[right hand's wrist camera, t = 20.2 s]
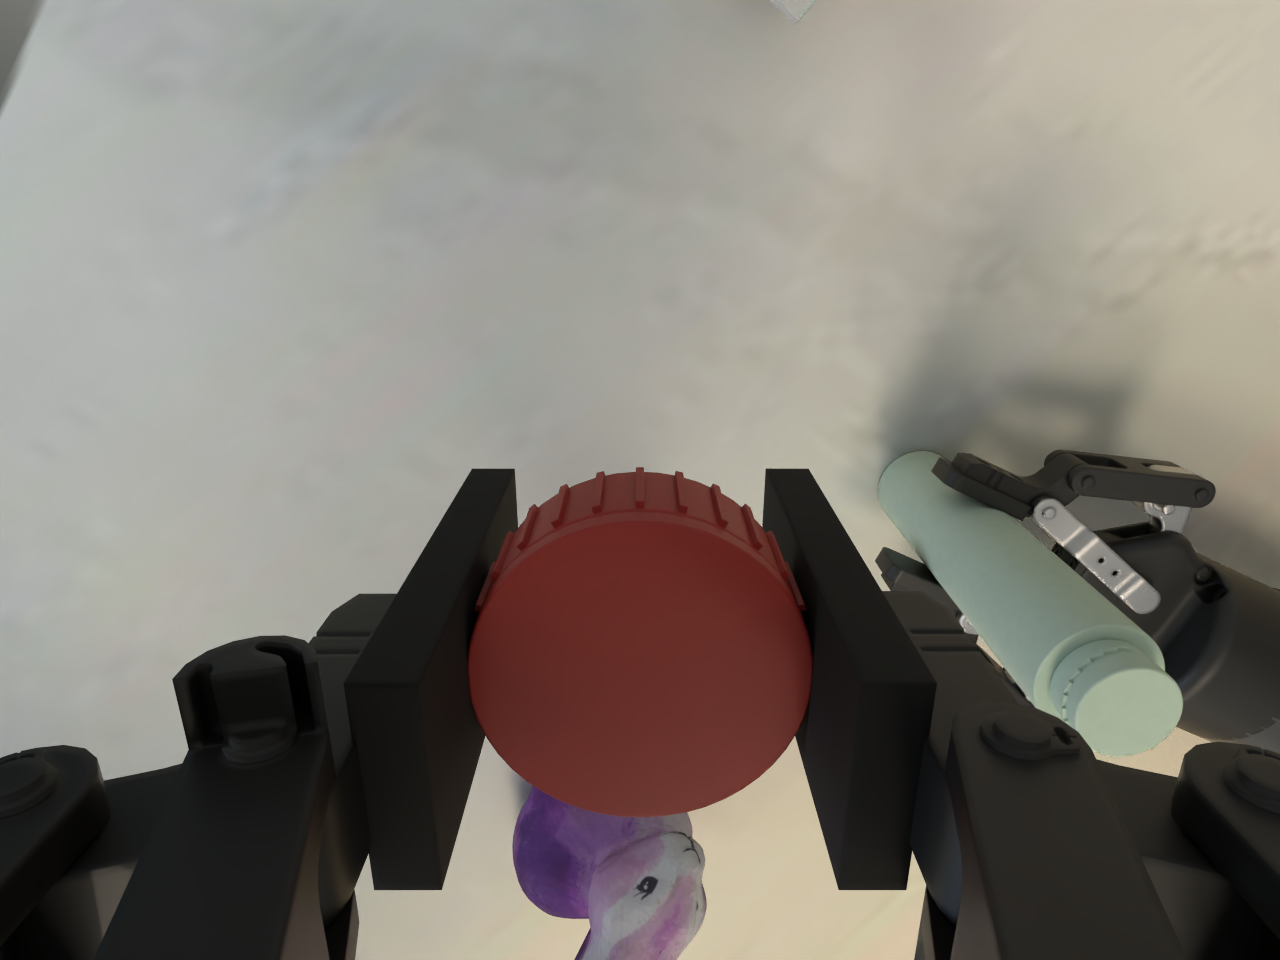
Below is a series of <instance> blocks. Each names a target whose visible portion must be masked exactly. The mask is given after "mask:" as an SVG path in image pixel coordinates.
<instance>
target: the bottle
mask: <svg viewBox="0 0 1280 960" xmlns="http://www.w3.org/2000/svg"><path fill="white" fill-rule="evenodd" d="M939 457H942V456H940V455H938V454H936V453H933V452H928V451H916V452H911V453H908V454H905V455H903V456H901V457H899V458H897V459H896V460H895V461H893V462H892V463H891V464H890V465H889V466H888V467H887V469H886V470H885V471H884V473H883V475H882V477H881V479H880V482H879V486H878V498H879V502H880V505H881V507H882V509H883V510H884V512H885V513H886V514H887V516H888V517H889V518H890V519H891V521H892V522H893V523H894V525H895V526H896V527H897V529H898V530H899V531H900V532H901V534H902V535H903V536H904V538H905V539H906V540H907V542H908V543H909V544H910V545H911V547H912V548H913V549H914V551H915V552H916V553H917V554H918V556H919V557H920V558H921V560H922V561H923V562H924V564H925V565H926V566H927V567H928V569H929V570H930V571H931V573H932V574H933V575H934V577H935V578H936V579H937V580H938V582H939V583H940V584H941V586H942V587H943V588H944V590H945V591H946V592H947V593H948V595H949V596H950V597H951V599H952V600H953V601H954V603H955V604H956V605H957V606H958V608H959V609H960V610H961V612H962V613H963V614H964V616H965V617H966V618H967V619H968V621H969V622H970V623H971V625H972V626H973V627H974V629H975V630H976V631H977V632H978V634H979V635H980V636H981V638H982V639H983V640H984V642H985V643H986V644H987V645H988V647H989V648H990V649H991V651H992V652H993V653H994V654H995V656H996V657H997V658H998V660H999V661H1000V662H1001V664H1002V665H1003V666H1004V667H1005V669H1006V670H1007V671H1008V673H1009V674H1010V675H1011V677H1012V678H1013V679H1014V680H1015V682H1016V683H1017V684H1018V686H1019V687H1020V688H1021V690H1022V691H1023V692H1024V693H1025V695H1026V696H1027V697H1028V699H1029V700H1030V701H1031V703H1032V704H1033V705H1034V706H1035V708H1037V709H1039V710H1042V711H1044V712H1046V713H1049V714H1051V715H1053V716H1056V717H1058V718H1059V719H1061V720H1062V721H1064V722H1065V723H1066V724H1068V725H1069V726H1071V727H1072V728H1073V729H1075V730H1076V731H1078V732H1079V733H1080V735H1081V736H1082V737H1083V739H1084V740H1085V741H1086V742H1087V744H1088V745H1089V746H1090V748H1091V749H1092V751H1095V752H1097V753H1100V754H1103V755H1107V756H1114V757H1123V756H1131V755H1135V754H1139V753H1142V752H1144V751H1147V750H1149V749H1153V748H1155V747H1156V746H1157V745H1158V744H1159V743H1160V742H1162V741H1163V740H1164V739H1165V738H1166V737H1168V736H1169V734H1170V733H1171V732H1172V731H1173V730H1174V728H1175V727H1176V725H1177V723H1178V722H1179V720H1180V717H1181V714H1182V710H1183V697H1182V694H1181V690H1180V688H1179V686H1178V684H1177V683H1176V682H1175V680H1174V679H1173V678H1172V677H1171V676H1169V675H1168V674H1167V673H1166V672H1165V663H1164V658H1163V655H1162V652H1161V650H1160V648H1159V646H1158V645H1157V644H1156V642H1155V641H1154V640H1153V639H1152V638H1151V637H1150V636H1149V635H1148V634H1146V633H1145V632H1144V631H1143V630H1142V629H1141V628H1140V627H1138V626H1137V625H1136V624H1135V623H1134V622H1133V621H1131V620H1130V619H1129V618H1128V617H1127V616H1126V615H1125V614H1123V613H1122V612H1121V611H1120V610H1119V609H1118V608H1117V607H1115V606H1114V605H1113V604H1112V603H1111V602H1110V601H1108V600H1107V599H1106V598H1105V597H1104V596H1103V595H1102V594H1100V593H1099V592H1098V591H1097V590H1096V589H1095V588H1094V587H1092V586H1091V585H1090V584H1089V583H1088V582H1087V581H1085V580H1084V579H1083V578H1082V577H1081V576H1080V575H1079V574H1077V573H1076V572H1075V571H1074V570H1073V569H1072V568H1070V567H1069V566H1068V565H1067V564H1066V563H1065V562H1064V561H1062V560H1061V559H1060V558H1059V557H1058V556H1057V555H1056V554H1054V553H1053V552H1052V551H1051V550H1050V549H1049V548H1047V547H1046V546H1045V545H1044V544H1043V543H1042V542H1041V541H1039V540H1038V539H1037V538H1036V537H1035V536H1034V535H1032V534H1031V533H1030V532H1029V531H1028V530H1027V529H1026V528H1024V527H1023V526H1022V525H1021V524H1020V523H1019V522H1018V521H1016V520H1015V519H1014V518H1013V517H1012V516H1010V515H1008V514H1007V513H1005V512H1002V511H1000V510H997V509H995V508H993V507H991V506H989V505H987V504H984V503H982V502H980V501H978V500H976V499H974V498H971V497H969V496H967V495H965V494H963V493H961V492H958V491H956V490H954V489H952V488H950V487H949V486H947V485H946V484H944V483H943V482H942V481H941V480H940V479H938V478H937V477H936V476H935V475H934V474H933V473H932V472H931V470H932V469H933V467H934V465H935V464H936V462H937V461H938V459H939ZM942 458H943V457H942ZM944 459H945V458H944Z"/></svg>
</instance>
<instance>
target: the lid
mask: <svg viewBox="0 0 1280 960" xmlns="http://www.w3.org/2000/svg"><path fill="white" fill-rule="evenodd" d="M805 610H806V606H805V604H804V601H803V598H802V596H801V593H800V591H799V588H798V586H797V583H796V581H795V578H794V576H793V573H792V571H791V568H790V566H789V563H788V561H784V559H783V556H782V554H781V551H780V549H779V546H778V543H777V541H776V538H775V536H774V534H773V532H772V531H771V530H770V531H768V532H767V533H766V532H765V531H764V529H763V528H762V527H761V526H760V524H759V523H758V522H757V521H756V520H755V519H754V517H753V514H752V511H751V508H750V507H749V506H748V505H747V504H745V505H744V506H743V507H741V506H739V505H738V504H737V503H736V502H734V501H733V500H732V499H730V498H728V497H727V496H725V495H723V494H722V493H721V491H720V487H719V486H717V485H715V484H712V486H711V488H710V487H708V486H706V485H703V484H701V483H699V482H696V481H693V480H689V479H686V478H684V476H683V473H682V472H678V471H676V472H675V476H674V475H668V474H662V473H652V472H644V468H643V467H637V468H636V472H629V473H617V474H612V475H607V476H605V473H604V471H602V472H598V473H597V475H596V478H594V479H591V480H588V481H585V482H582V483H579V484H576V485H574V486H572V487H570V488H569V487H568V485H567V484H565V485H563V486H561V487H560V490H559V493H558V494H557V495H555V496H554V497H552V498H551V499H549V500H548V501H546V502H545V503H543V504H542V505H541V506H540V507H537V506H536V505H535V504H534V505H533V506H532V507H530V508H529V511H528V514H527V517H526V520H525V521H524V522H523V523H522V524H521V525H520V527H519V528H518V529H517V530H516V531H515V533H512V532H511V531H509V532H508V533H507V535H506V537H505V539H504V542H503V544H502V547H501V550H500V552H499V555H498V557H497V560H496V562H492V565H491V567H490V570H489V572H488V575H487V577H486V580H485V582H484V585H483V587H482V590H481V592H480V595H479V597H478V600H477V603H476V605H475V608H474V611H476V612H479V615H478V617H477V620H476V622H475V625H474V629H473V633H472V636H471V640H470V643H469V651H468V678H469V689H470V696H471V702H472V705H473V708H474V711H475V713H476V716H477V719H478V722H479V724H480V725H481V727H482V729H483V731H484V733H485V735H486V737H487V739H488V740H489V742H490V743H491V744H492V746H493V747H494V749H495V750H496V751H497V753H498V754H499V755H500V756H501V758H502V759H503V760H504V761H505V762H506V763H507V764H508V765H509V766H510V767H511V768H512V769H513V770H514V771H515V772H516V773H518V774H519V775H520V776H521V777H522V778H524V779H525V780H526V781H527V782H529V783H530V784H532V785H533V786H535V787H536V788H538V789H539V790H541V791H542V792H544V793H546V794H548V795H550V796H552V797H554V798H556V799H558V800H560V801H562V802H564V803H567V804H570V805H573V806H575V807H578V808H581V809H584V810H588V811H592V812H596V813H600V814H606V815H613V816H620V817H641V818H646V817H660V816H669V815H674V814H680V813H685V812H689V811H692V810H696V809H699V808H703V807H706V806H708V805H711V804H713V803H716V802H718V801H721V800H723V799H725V798H727V797H729V796H731V795H733V794H734V793H736V792H738V791H740V790H742V789H743V788H745V787H746V786H747V785H749V784H750V783H752V782H753V781H754V780H756V779H757V778H759V777H760V776H761V775H762V774H763V773H764V772H765V771H766V770H767V769H769V768H770V767H771V766H772V765H773V764H774V763H775V762H776V760H777V759H778V758H779V757H780V756H781V755H782V753H783V752H784V751H785V750H786V749H787V747H788V745H789V744H790V742H791V741H792V739H793V738H794V736H795V735H796V733H797V731H798V729H799V727H800V724H801V722H802V720H803V718H804V716H805V713H806V710H807V706H808V703H809V699H810V695H811V684H812V673H813V653H812V648H811V642H810V637H809V634H808V631H807V628H806V625H805V622H804V619H803V616H802V613H801V612H802V611H805Z"/></svg>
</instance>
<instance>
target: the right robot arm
mask: <svg viewBox="0 0 1280 960" xmlns="http://www.w3.org/2000/svg"><path fill="white" fill-rule="evenodd" d="M762 528H763V529H764V531H765V532H766V533H767V532H768V531H770V530H771V531H772V532H773V534H774V536H775V538H776V541H777V543H778V546H779V549H780V551H781V554H782V556H783V559H784V561H788V563H789V566H790V568H791V571H792V573H793V576H794V578H795V581H796V583H797V586H798V588H799V591H800V593H801V596H802V598H803V601H804V604H805V606H806V610H805V611H802V612H801V613H802V616H803V619H804V622H805V625H806V628H807V631H808V634H809V637H810V642H811V648H812V653H813V673H812V684H811V695H810V699H809V703H808V706H807V710H806V713H805V716H804V718H803V720H802V722H801V724H800V727H799V729H798V731H797V733H796V735H795V737H796V740H797V744H798V747H799V751H800V754H801V758H802V761H803V765H804V769H805V772H806V776H807V779H808V783H809V786H810V790H811V793H812V797H813V800H814V804H815V807H816V811H817V814H818V818H819V822H820V825H821V829H822V832H823V836H824V839H825V843H826V846H827V850H828V853H829V857H830V860H831V864H832V868H833V871H834V875H835V878H836V882H837V885H838V889H839V890H906V888H907V881H908V875H909V868H910V861H911V855H912V851H913V853H914V855H915V858H916V860H917V863H918V865H919V868H920V870H921V872H922V875H923V877H924V880H925V882H926V890H925V897H924V903H923V909H922V915H921V921H920V928H919V934H918V940H917V946H916V953H915V959H914V960H1280V754H1279V753H1276V752H1273V751H1270V750H1267V749H1265V750H1263V749H1261V748H1260V747H1256V746H1251V745H1246V744H1236V743H1227V742H1212V743H1206V744H1199V745H1196V746H1195V747H1193V748H1192V749H1191V750H1190V751H1188V752H1187V753H1186V754H1185V755H1184V759H1183V762H1182V766H1181V769H1180V773H1179V776H1178V777H1173V776H1168V775H1163V774H1158V773H1153V772H1148V771H1143V770H1139V769H1134V768H1129V767H1124V766H1119V765H1115V764H1111V763H1108V762H1104V761H1100V760H1097V759H1096V758H1095V756H1094V754H1093V751H1092V749H1091V748H1090V746H1089V745H1088V744H1087V742H1086V741H1085V740H1084V739H1083V737H1082V736H1081V735H1080V733H1079V732H1078V731H1076V730H1075V729H1073V728H1072V727H1071V726H1069V725H1068V724H1066V723H1065V722H1064V721H1062V720H1061V719H1059V718H1058V717H1056V716H1053V715H1051V714H1049V713H1046V712H1044V711H1042V710H1039V709H1037V708H1035V707H1032V706H1027V705H1023V704H1019V703H1018V702H1017V701H1016V699H1015V698H1014V697H1013V695H1012V694H1011V693H1010V691H1009V690H1008V689H1007V687H1006V686H1005V684H1004V683H1003V682H1002V680H1001V679H1000V678H999V676H998V675H997V674H996V672H995V671H994V669H993V668H992V667H991V665H990V664H989V663H988V661H987V660H986V659H985V657H984V656H983V654H982V653H981V652H980V651H977V646H976V645H975V644H974V642H973V641H972V640H971V638H970V637H969V635H968V634H965V633H964V629H963V627H962V626H961V625H960V623H959V622H958V620H957V619H956V618H955V616H954V615H953V614H952V612H951V611H950V610H949V609H948V608H947V607H945V606H944V605H942V604H941V603H939V602H937V601H936V600H934V599H933V598H931V597H930V596H928V595H927V594H925V593H924V592H922V591H881V589H880V587H879V586H878V584H877V582H876V581H875V579H874V577H873V576H872V574H871V572H870V571H869V569H868V567H867V566H866V564H865V562H864V561H863V559H862V557H861V556H860V554H859V552H858V551H857V549H856V547H855V546H854V544H853V542H852V541H851V539H850V537H849V536H848V534H847V532H846V531H845V529H844V527H843V526H842V524H841V522H840V521H839V519H838V517H837V516H836V514H835V512H834V511H833V509H832V507H831V506H830V504H829V502H828V501H827V499H826V497H825V496H824V494H823V492H822V491H821V489H820V487H819V486H818V484H817V482H816V481H815V479H814V477H813V476H812V474H811V472H810V471H809V469H766V475H765V492H764V510H763V527H762ZM517 529H518V518H517V501H516V483H515V469H472V470H471V472H470V473H469V475H468V477H467V478H466V480H465V482H464V483H463V485H462V487H461V488H460V490H459V492H458V493H457V495H456V497H455V498H454V500H453V502H452V503H451V505H450V507H449V508H448V510H447V512H446V513H445V515H444V517H443V518H442V520H441V522H440V523H439V525H438V527H437V528H436V530H435V532H434V533H433V535H432V537H431V538H430V540H429V542H428V543H427V545H426V547H425V548H424V550H423V552H422V553H421V555H420V557H419V558H418V560H417V562H416V563H415V565H414V567H413V568H412V570H411V572H410V573H409V575H408V577H407V578H406V580H405V582H404V583H403V585H402V587H401V588H400V590H399V592H398V593H397V594H358V595H357V596H355V597H354V598H352V599H351V600H349V601H347V602H346V603H344V604H343V605H341V606H340V607H338V608H337V609H335V610H334V611H332V612H331V614H330V615H329V616H328V618H327V619H326V620H325V622H324V623H323V624H322V626H321V627H320V629H319V630H318V631H317V636H316V637H313V638H312V640H311V641H310V642H309V644H308V643H307V642H306V641H305V640H301V639H297V638H293V637H289V636H258V637H253V638H248V639H243V640H238V641H233V642H230V643H228V644H225V645H222V646H220V647H217V648H214V649H212V650H209V651H207V652H205V653H203V654H202V655H200V656H199V657H197V658H195V659H194V660H192V661H190V662H189V663H187V664H186V665H185V666H184V667H183V668H182V669H181V670H180V671H179V672H178V673H177V675H176V676H175V677H174V678H173V679H172V680H173V684H174V688H175V693H176V697H177V701H178V705H179V710H180V714H181V718H182V722H183V727H184V731H185V735H186V739H187V744H188V748H189V751H188V753H187V755H186V757H185V759H184V762H183V763H182V764H179V765H175V766H171V767H167V768H164V769H159V770H154V771H149V772H144V773H140V774H135V775H130V776H125V777H120V778H115V779H111V780H106V781H103V777H102V774H101V770H100V767H99V763H98V760H97V758H96V757H95V756H94V755H93V754H91V753H90V752H89V751H88V750H86V749H85V748H79V747H73V746H67V745H60V746H50V747H41V748H34V749H29V750H24V751H21V752H20V753H14V754H11V755H8V756H5V757H2V758H0V960H355V954H356V945H357V937H358V928H359V917H358V910H357V903H356V897H355V890H354V888H355V885H356V883H357V880H358V878H359V875H360V873H361V871H362V868H363V866H364V863H365V861H366V858H367V856H368V853H369V858H370V865H371V871H372V878H373V885H374V890H442V887H443V883H444V880H445V876H446V873H447V869H448V866H449V862H450V859H451V855H452V852H453V848H454V845H455V841H456V837H457V834H458V830H459V827H460V823H461V820H462V816H463V813H464V809H465V806H466V802H467V799H468V795H469V792H470V788H471V784H472V781H473V777H474V774H475V770H476V767H477V763H478V760H479V756H480V753H481V749H482V746H483V742H484V738H485V733H484V731H483V729H482V727H481V725H480V724H479V722H478V719H477V716H476V713H475V711H474V708H473V705H472V702H471V696H470V689H469V678H468V651H469V643H470V640H471V636H472V633H473V629H474V625H475V622H476V620H477V617H478V615H479V612H476V611H474V608H475V605H476V603H477V600H478V597H479V595H480V592H481V590H482V587H483V585H484V582H485V580H486V577H487V575H488V572H489V570H490V567H491V565H492V562H496V560H497V557H498V555H499V552H500V550H501V547H502V544H503V542H504V539H505V537H506V535H507V533H508V532H509V531H511V532H512V533H515V531H516V530H517Z"/></svg>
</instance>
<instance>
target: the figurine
mask: <svg viewBox="0 0 1280 960" xmlns="http://www.w3.org/2000/svg"><path fill="white" fill-rule="evenodd" d="M513 861H514V866H515V870H516V874H517V877H518V881H519V884H520V886H521V888H522V890H523V892H524V893H525V894H526V896H527V897H528V899H529V900H530V901H531V902H533V903H534V904H535V905H536V906H537V907H538V908H540V909H541V910H542V911H544V912H546V913H547V914H549V915H552V916H556V917H562V918H571V919H589V921H590V927H591V928H590V930H589V932H588V934H587V936H586V938H585V940H584V942H583V944H582V946H581V948H580V950H579V952H578V954H577V956H576V958H575V960H677V958H678V957H679V956H680V954H681V953H682V952H683V950H684V949H685V948H686V947H687V945H688V944H689V943H690V941H691V940H692V939H693V938H694V936H695V935H696V934H697V932H698V930H699V929H700V927H701V925H702V922H703V920H704V916H705V912H706V896H705V892H704V888H703V885H702V873H703V870H704V866H705V856H704V852H703V849H702V848H701V846H700V845H699V844H698V843H697V842H696V841H695V840H694V839H693V838H692V825H691V822H690V819H689V816H688V813H687V812H685V813H680V814H674V815H669V816H660V817H646V818H641V817H620V816H613V815H606V814H600V813H596V812H592V811H588V810H584V809H581V808H578V807H575V806H573V805H570V804H567V803H564V802H562V801H560V800H558V799H556V798H554V797H552V796H550V795H548V794H546V793H544V792H542V791H541V790H539V789H538V788H536V787H535V786H533V788H532V790H531V792H530V795H529V797H528V799H527V801H526V802H525V804H524V805H523V807H522V809H521V811H520V814H519V816H518V818H517V822H516V826H515V831H514V836H513Z"/></svg>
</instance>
